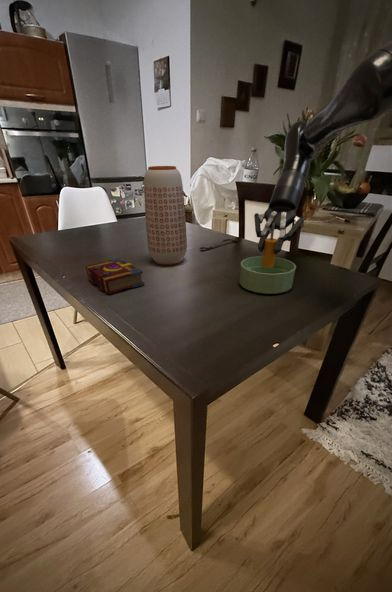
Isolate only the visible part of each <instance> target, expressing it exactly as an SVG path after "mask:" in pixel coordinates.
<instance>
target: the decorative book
mask: <svg viewBox="0 0 392 592" xmlns="http://www.w3.org/2000/svg"><path fill="white" fill-rule="evenodd" d="M85 270H86V275H87V278H88V280H89V281H90V282H91V284H92V285H96V286H98V288H99V289H100V291H101V292H103V293H106V294H108V295H111V294H114V293H118V292H121V291H125V290H128V289H131V288H132V289H134V288H138V287H141V286H144V285H145V281H142V274H144V271H143V270H142V269H141V268H138V267H135V266H133V264H132V263H130V262H126V261H125V260H124V259H122V258H120V257H117V258H112V259H108V260H107V261H102V262H98V263H94V264H89V265H85Z"/></svg>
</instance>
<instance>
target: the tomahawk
mask: <svg viewBox="0 0 392 592" xmlns="http://www.w3.org/2000/svg"><path fill="white" fill-rule="evenodd" d="M233 242H234V243H238V242H239V239H231V238H227V239H223V240H222V242H219V243H215V244H212V245H209V246H208V247H204V246H201V247H199V250H212V249H215V248H220V247H222V246H226V245H228V244H232V243H233Z"/></svg>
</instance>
